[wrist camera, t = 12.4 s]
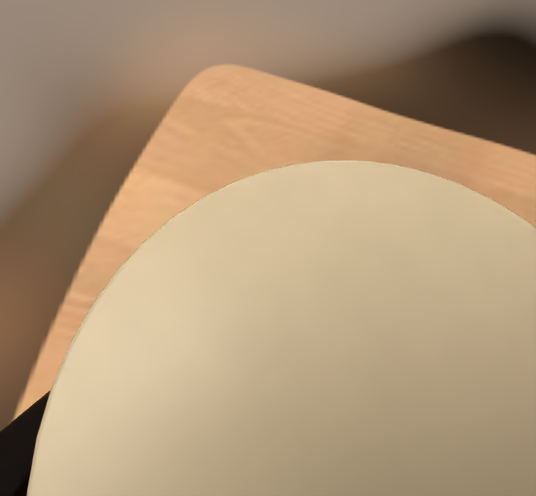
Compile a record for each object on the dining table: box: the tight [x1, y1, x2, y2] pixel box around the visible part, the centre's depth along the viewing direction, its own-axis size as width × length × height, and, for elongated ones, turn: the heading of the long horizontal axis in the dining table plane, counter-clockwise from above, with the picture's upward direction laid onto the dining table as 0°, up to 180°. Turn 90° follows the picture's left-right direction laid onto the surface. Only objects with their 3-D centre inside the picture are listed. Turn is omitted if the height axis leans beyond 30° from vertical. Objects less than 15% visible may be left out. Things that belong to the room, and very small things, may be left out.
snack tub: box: [27, 160, 536, 496], centre depth 9 cm, size 6×6×12 cm
